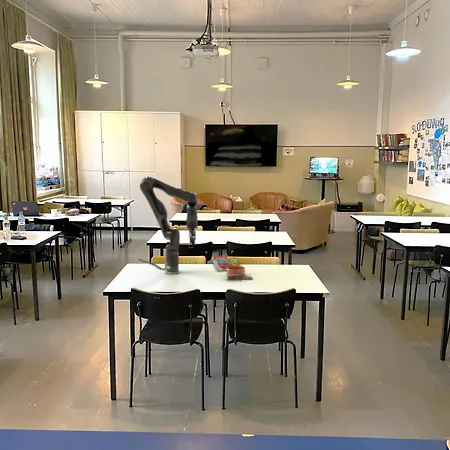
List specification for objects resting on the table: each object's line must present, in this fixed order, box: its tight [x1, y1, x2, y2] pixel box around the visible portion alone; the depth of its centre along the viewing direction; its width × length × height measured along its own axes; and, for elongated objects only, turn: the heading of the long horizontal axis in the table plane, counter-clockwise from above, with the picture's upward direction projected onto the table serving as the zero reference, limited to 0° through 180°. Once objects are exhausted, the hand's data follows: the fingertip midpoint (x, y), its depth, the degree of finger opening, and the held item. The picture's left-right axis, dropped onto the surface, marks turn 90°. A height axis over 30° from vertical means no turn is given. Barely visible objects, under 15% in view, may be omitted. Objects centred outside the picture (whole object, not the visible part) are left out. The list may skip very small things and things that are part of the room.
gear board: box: [210, 255, 241, 272], centre depth 358 cm, size 45×2×19 cm
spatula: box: [226, 274, 253, 281], centre depth 313 cm, size 17×5×3 cm, turn 103°
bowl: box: [226, 265, 246, 277], centre depth 325 cm, size 13×13×5 cm
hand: (192, 244), depth 312 cm, fingers open, 8 cm apart
